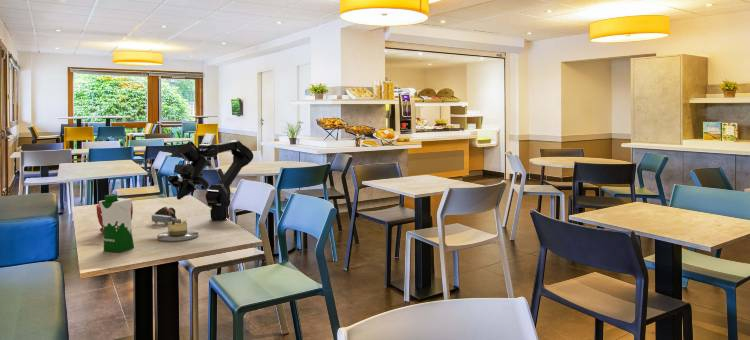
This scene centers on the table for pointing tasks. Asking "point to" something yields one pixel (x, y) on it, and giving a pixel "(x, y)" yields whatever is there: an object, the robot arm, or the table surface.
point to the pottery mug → (166, 212)
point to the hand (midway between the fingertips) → (178, 199)
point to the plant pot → (101, 216)
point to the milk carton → (116, 223)
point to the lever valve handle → (171, 224)
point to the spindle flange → (177, 238)
